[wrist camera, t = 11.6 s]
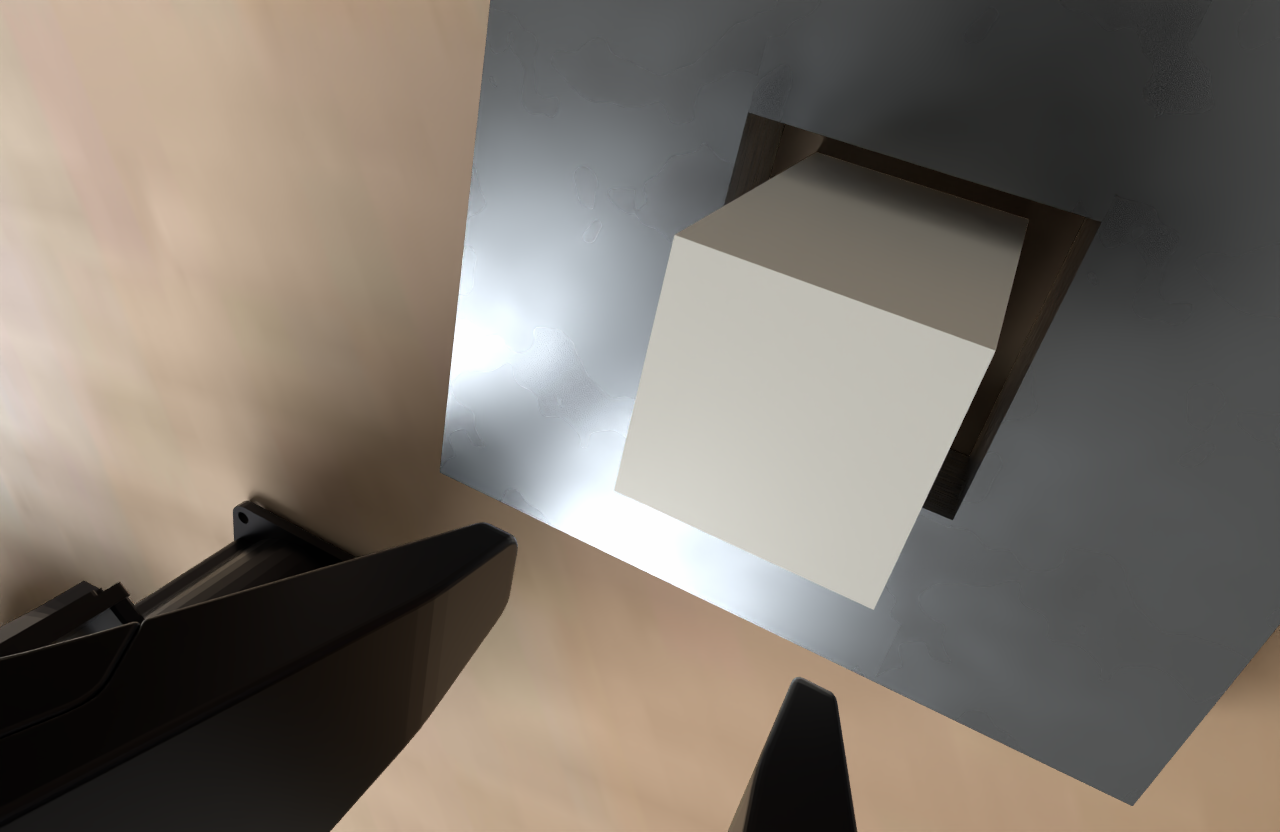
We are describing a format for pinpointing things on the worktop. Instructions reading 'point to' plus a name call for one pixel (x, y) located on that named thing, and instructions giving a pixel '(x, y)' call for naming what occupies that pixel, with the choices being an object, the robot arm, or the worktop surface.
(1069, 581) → the jig plate
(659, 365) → the white rectangular block
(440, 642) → the robot arm
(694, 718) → the worktop surface
